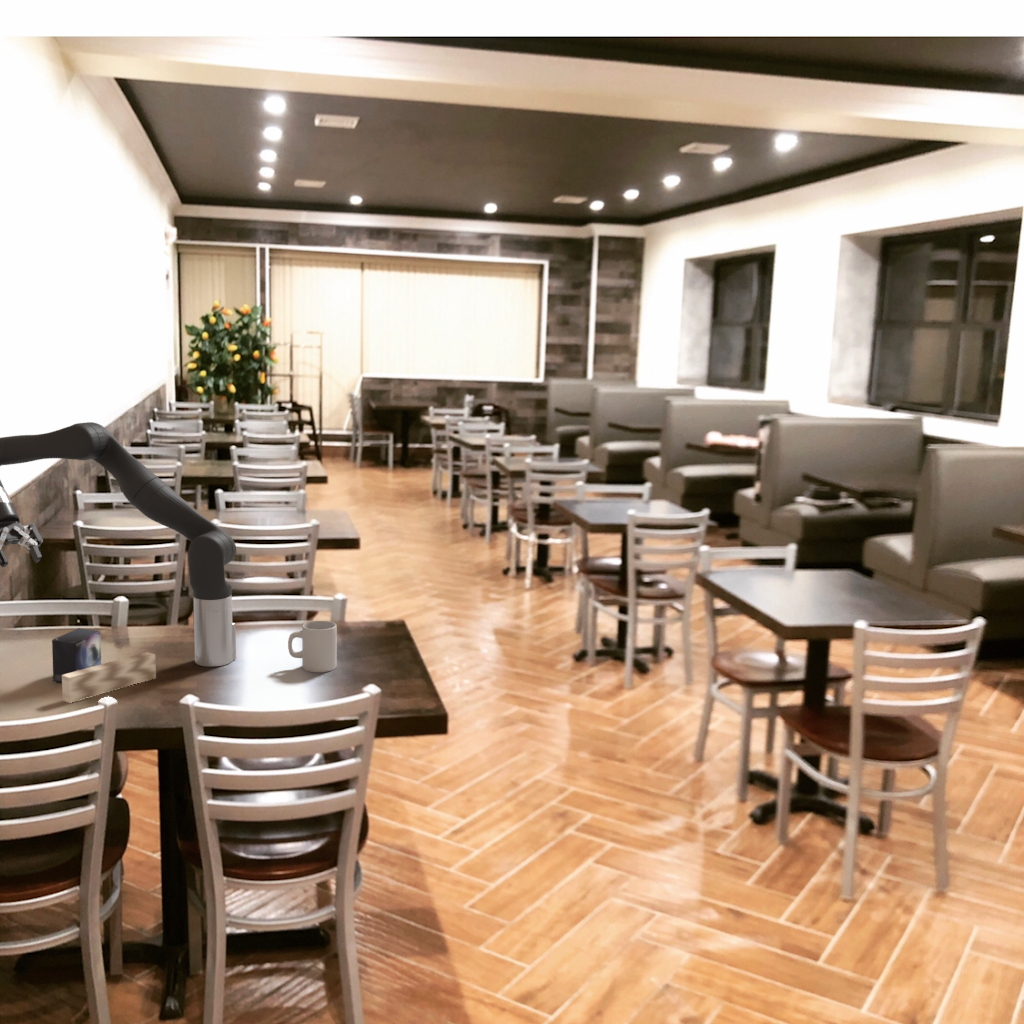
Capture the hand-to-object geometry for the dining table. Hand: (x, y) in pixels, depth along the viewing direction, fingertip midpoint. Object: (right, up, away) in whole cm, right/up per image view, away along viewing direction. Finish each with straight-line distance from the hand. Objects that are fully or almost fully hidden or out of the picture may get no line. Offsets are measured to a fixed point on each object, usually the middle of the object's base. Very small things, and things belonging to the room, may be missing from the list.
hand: (22, 563), depth 249 cm
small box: (+17, -27, -7) cm, 33 cm away
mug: (+71, -27, +5) cm, 76 cm away
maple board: (+28, -29, -15) cm, 43 cm away
